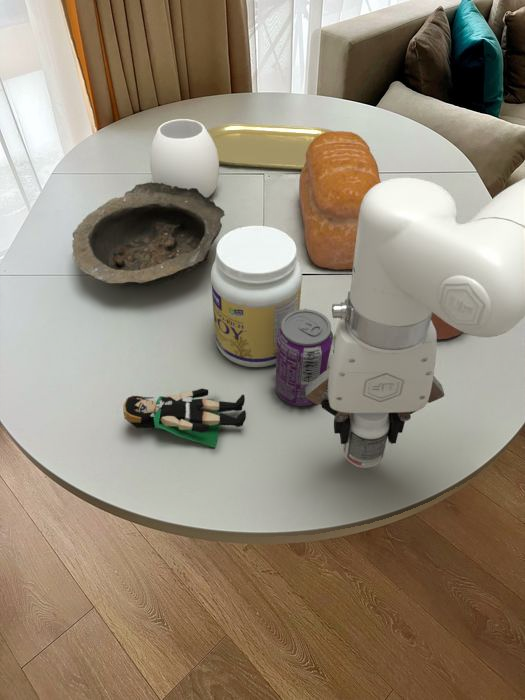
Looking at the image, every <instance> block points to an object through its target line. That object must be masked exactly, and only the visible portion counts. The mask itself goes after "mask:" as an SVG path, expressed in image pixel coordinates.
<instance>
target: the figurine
mask: <svg viewBox="0 0 525 700" xmlns="http://www.w3.org/2000/svg"><path fill="white" fill-rule="evenodd" d="M207 396H209V389H206V388H199V389H196V390H192V391H190V392H189V391H188V392H186V391H185V392H180V393H179V394H178V395H171V394H167V395H166V396H161V395H159V397H158V398H157V399H156V401H155V400H152V399H154V398H155V397H149V396H148V397H147V396H143V395H131V396H129V397H127V398H125V400H124V402H123V405H122V406H123V407H122V410H123V412H122V413H123V419H124V420H125V421H127V422H128V423H130V425H132V426H133V427H135V428H136V429H160V430H165V431H167V432H168V433H171V434H173V435H175V436H177V437H180V438H183V439H186V440H190V441H192V442H196V443H199V444H203V445H206V446H208V447H212V448H213V449H216V446H217V442H218V439H219V436H220V426H231V427H237V428H239V427H243V426H244V423H245V421H246V419H247V412H246V410H243V407H244V404H245V403H246V402H245V401H246V399H245V394H241V396H239V398H238V399H237V400H236V401H235V402H232V401H223V400H220V401H215V400H214V399H213V398H211V399H210V398H203V397H207ZM232 411H233V412H240V411H241V412H240V413H239V414H237V416H236V417H235V416H231V415H230V414H226V412H232ZM224 412H225V413H224ZM152 415H153V416H152Z"/></svg>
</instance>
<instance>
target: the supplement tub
mask: <svg viewBox="0 0 525 700" xmlns="http://www.w3.org/2000/svg"><path fill="white" fill-rule="evenodd" d="M215 252H216V254H215V260H214V262H213V264H212V267H211V271H210V283H211V294H212V295H211V296H212V297H211V298H212V309H213V325H214V339H215V344H216V346H217V348H218V349H219V352H220V353H221V354H222V355H223V356H224V357H226V359H228V360H229V361H231V362H233V363H235V364H238V365H240V366H244V367H248V368H264V367H269V366H272V365H276V351H277V333H278V330H279V328H280V327H281V323H282V320H283V318H284V317H285V316H286V315H287V314H289V313H291V312H293V311H296V310H300V308H301V294H302V283H303V272H302V271H303V270H302V267H301V264H300V263H299V260H298V254H297V245H296V243H295V241H294V239H293V238H292V237H291V236H290V235H288V234H287V233H285V232H284V231H282V230H280V229H277V228H275V227H270V226H265V225H248V226H241V227H238V228H235V229H233V230H230V231H229V232H226V233H225V234H224V235H222V237H221V238H220V239H219V241H217V244H216V249H215Z"/></svg>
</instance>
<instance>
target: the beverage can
mask: <svg viewBox="0 0 525 700" xmlns="http://www.w3.org/2000/svg"><path fill="white" fill-rule="evenodd" d="M333 338H334V333H333V330H332V324H331V321H330V320H329V318H328V317H327V316H326V315H324V314H323V313H321V312H319V311H316V310H313V309H307V308H306V309H305V308H301V309H299V310H296V311H293V312H291V313H289V314H287V315H286V316H285V317H284V318H283V320H282V323H281V327H280V328H279V330H278V333H277V351H276V363H275V381H274V382H275V385H274V386H275V391H276V392H277V395H278V396H279V397H280V398H281V399H282V400H283V401H285V402H286V403H289V404H290V405H294V406H299V407H305V406H311V405H312V406H313V405H315V404H316V403H314V402H312V401H310V400H308V399H307V398H306V392H305V387H306V386H307V385H309V384H310V383H311V382H312V381H314V380H315V379H316V378H317V377H318V376H320V375H321V374H322V373H323V372H324V371H326V370H327V365H328V359H329V354H330V349H331V345H332V341H333Z"/></svg>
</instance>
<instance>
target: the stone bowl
mask: <svg viewBox="0 0 525 700" xmlns="http://www.w3.org/2000/svg"><path fill="white" fill-rule="evenodd" d="M209 199H210V198H209V197H204V196H203V195H202V194H201V193H199V191H198V189H196V188H191V189H189V190H188V189H187V188H178V187H177V186H174V187H172V186H170V185H166V184H163V183H161V184H159V183H154V182H153V181H152V182H147V183H146V182H145V183H138V184H135V186H134V187H133V188H132V189H130V190H127V191H126V192H125V193H124V196H121V197H114V198H111V199H109V200H107V201H106V202H105V203H104V204H101V206H99V207H97V208H96V209H95V210H94V211H92V212H90V213H88V214H87V215H86V216H85V217H84V219H82V221H81V222H80V223H79V224H78V225H77V227H76V229H74V230H73V232H72V238H73V240H72V244H71V245H72V256H73V257H74V261H75V263H76V265H77V266H78V268H79V269H80V270H81V271H82V272H83V273H86V274H87V275H90V276H91V277H93V278H94V279H97V280H99V281H103V283H108V284H124V285H126V286H130V287H143V286H150V285H153V284H154V285H155V284H158V283H164V282H167V281H169V280H174V279H175V278H178V277H180V276H181V275H184V274H185V273H187V272H188V271H190V270H192V269H194V268H195V267H197V265H199V264H203V263H205V262H207V261H208V259H209V256H210V255H209V254H210V248H211V247H212V246H213V244H214V242H215V241H216V240H217V238H218V237H219V235H220V232H221V230H222V228H223V224H222V222H221V219H222V218H223V217H224V216H226V214H225V210H224V209H223V208H221V207H219V206H218V205H216V203H215V202H214V201H211V200H209Z"/></svg>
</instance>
